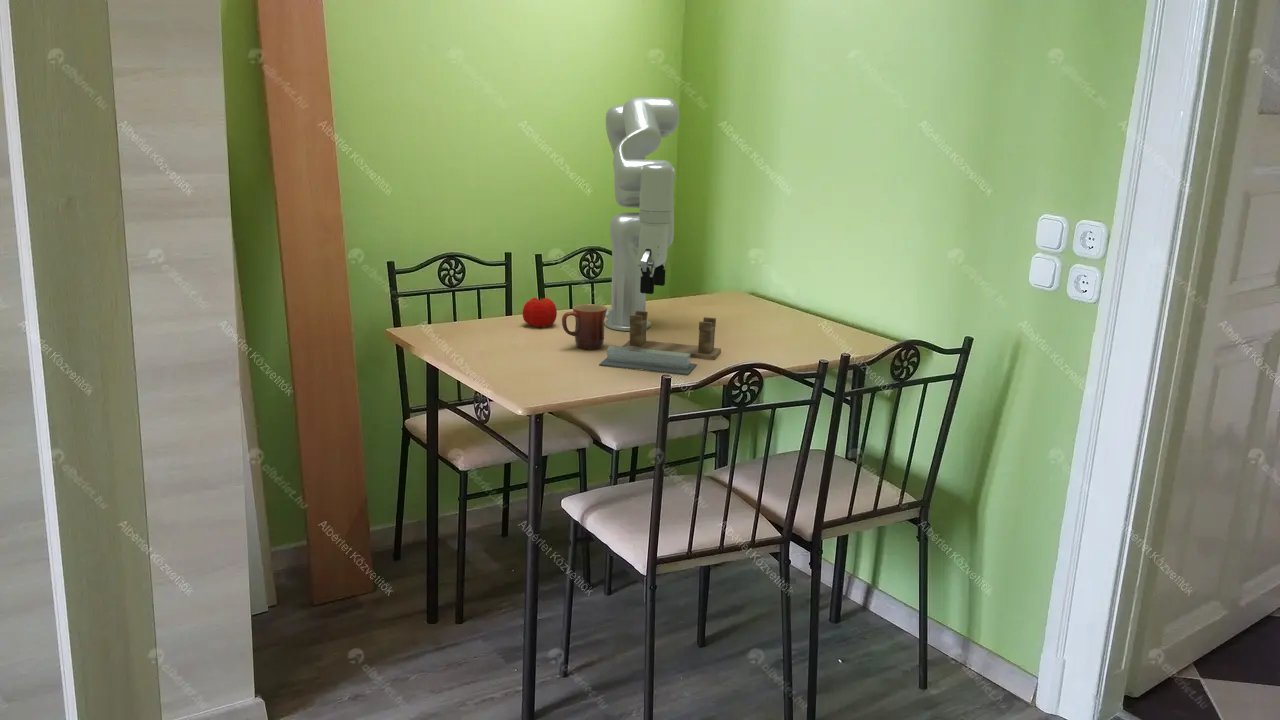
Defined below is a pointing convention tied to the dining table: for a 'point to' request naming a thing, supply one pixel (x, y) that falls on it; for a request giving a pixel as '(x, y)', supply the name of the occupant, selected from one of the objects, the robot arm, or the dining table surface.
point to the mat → (648, 367)
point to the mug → (587, 325)
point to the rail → (648, 357)
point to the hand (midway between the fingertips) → (652, 289)
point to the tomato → (539, 312)
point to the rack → (701, 351)
